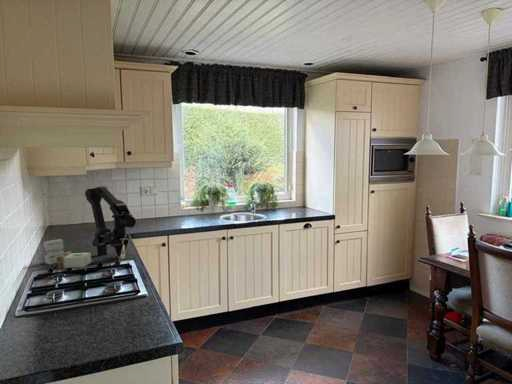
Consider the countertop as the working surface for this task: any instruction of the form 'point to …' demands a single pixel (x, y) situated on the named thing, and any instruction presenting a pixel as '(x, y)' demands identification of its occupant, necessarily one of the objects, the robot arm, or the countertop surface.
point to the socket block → (76, 260)
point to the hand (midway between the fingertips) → (121, 254)
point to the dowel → (122, 253)
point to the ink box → (53, 250)
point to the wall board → (60, 259)
